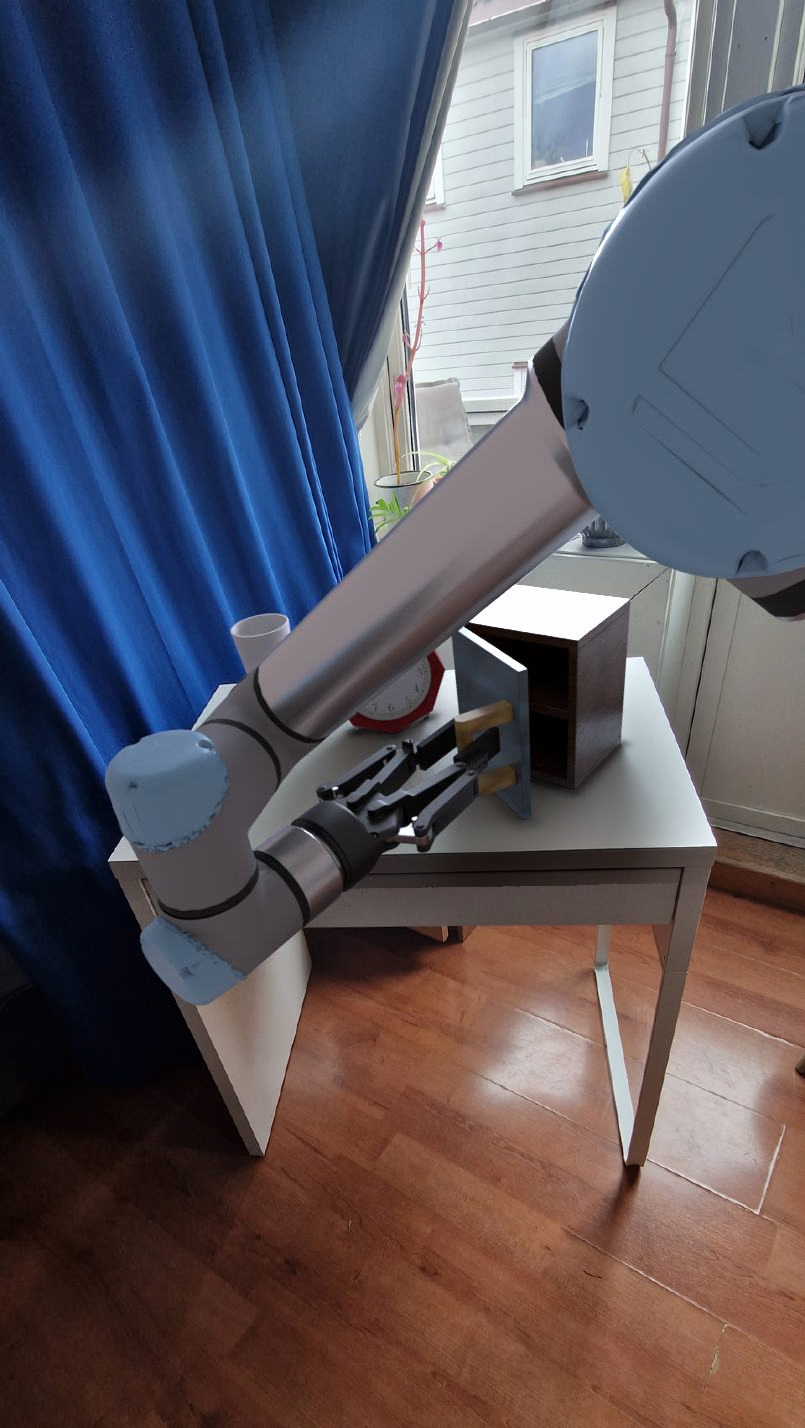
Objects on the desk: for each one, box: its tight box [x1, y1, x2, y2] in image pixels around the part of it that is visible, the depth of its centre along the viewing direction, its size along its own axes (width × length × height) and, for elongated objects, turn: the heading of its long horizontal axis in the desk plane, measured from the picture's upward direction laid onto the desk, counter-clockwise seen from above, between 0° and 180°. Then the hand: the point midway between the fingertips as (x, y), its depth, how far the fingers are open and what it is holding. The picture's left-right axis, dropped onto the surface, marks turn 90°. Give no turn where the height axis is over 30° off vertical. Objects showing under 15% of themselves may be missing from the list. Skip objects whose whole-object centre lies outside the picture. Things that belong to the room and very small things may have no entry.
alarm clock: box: [348, 648, 446, 734], centre depth 91 cm, size 15×9×20 cm, turn 97°
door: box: [451, 627, 532, 820], centre depth 75 cm, size 7×14×17 cm, turn 23°
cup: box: [229, 613, 291, 674], centre depth 101 cm, size 8×8×12 cm
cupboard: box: [464, 584, 631, 790], centre depth 81 cm, size 11×14×17 cm
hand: (477, 733), depth 73 cm, fingers open, 4 cm apart
